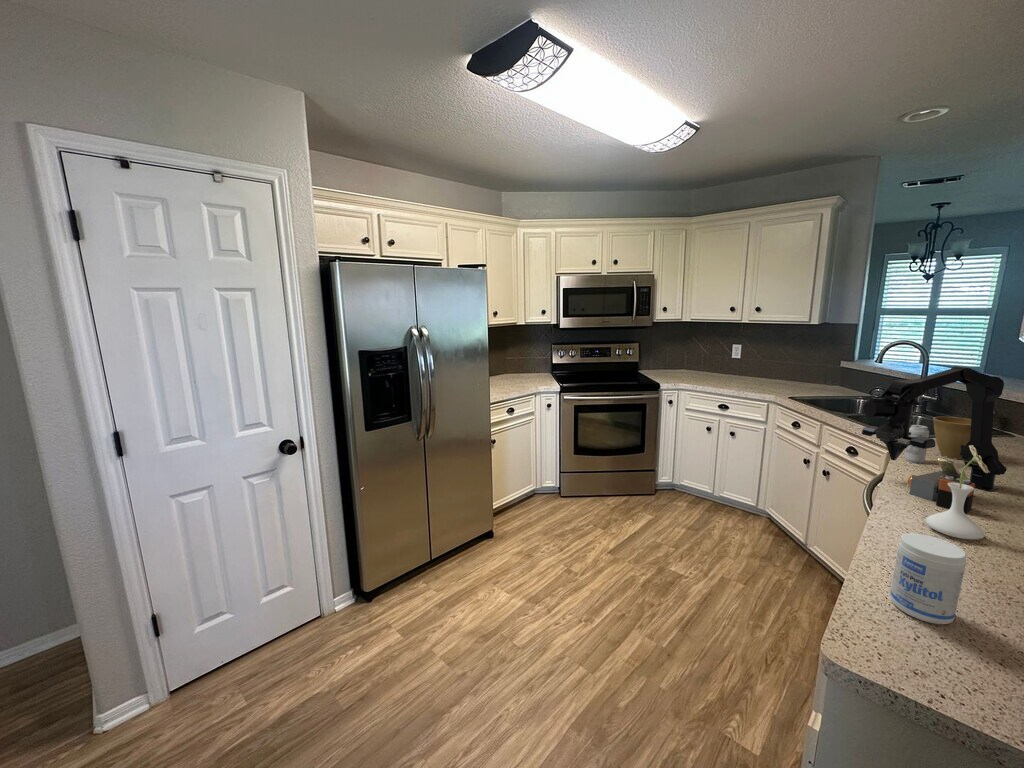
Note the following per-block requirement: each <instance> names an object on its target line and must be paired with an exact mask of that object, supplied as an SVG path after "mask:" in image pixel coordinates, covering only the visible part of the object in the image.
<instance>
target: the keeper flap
mask: <svg viewBox="0 0 1024 768" xmlns="http://www.w3.org/2000/svg"><path fill="white" fill-rule="evenodd" d="M936 460H937V462H938V464H939V466H940V467H941V471H943V472H947V473H950V474H954V475H958V476H961V472H960V470H959V469H958V466H957V465H956V462H955V461H953V460H947V459H943V458H940V457H938V459H936Z"/></svg>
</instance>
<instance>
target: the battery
mask: <svg viewBox="0 0 1024 768" xmlns="http://www.w3.org/2000/svg"><path fill="white" fill-rule="evenodd" d="M948 483H960V481H959V480H956V479H954V478H953V477H952V476H946V477H944V478H941V479H940V482H939V488H938V494H937V500H935V501H936V502H935V505H936V506H937V507H940V508H943V507H944V509H947V508H948V509H947V510H949V509H950V508H951V505H952V499H953V497H952V490H951V488H950V487H949V485H948ZM962 484H965V485H968V486H971V487H973V488H974V490H973V491H971V492H970V493H969V494H968V495H967V497H966V499H965V502H964V508H963V509H964V513H965V514H967V513H969V512H970V511H971V510H972V505H973V500H974V499H973V498H974V494H975V484H974V483H971V482H970V479H969V480H963V481H962Z"/></svg>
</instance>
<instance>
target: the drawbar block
mask: <svg viewBox="0 0 1024 768" xmlns="http://www.w3.org/2000/svg"><path fill="white" fill-rule="evenodd" d="M946 476H952V477H953V478H954V479H960V477H961V476H958V475H954V474H950V473H947V472H943V471H942V470H938V471H934V472H929V473H925V474H924V473H923V474H921V475H920V474H919V475H916V476H914V477H912V480H911V486H910V487H909V495H913V496H915V497H918V498H922V499H924V500H928V501H930V500H931V501H930V502H934V501H937V494H938V492H937V486H939V482H940V479H941V478H944V477H946ZM962 478H963V476H962Z"/></svg>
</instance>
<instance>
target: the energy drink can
mask: <svg viewBox="0 0 1024 768" xmlns="http://www.w3.org/2000/svg"><path fill="white" fill-rule="evenodd" d="M928 428H929V427H928V426H926V425H919V424H910V428H909V432H911V435H909V437H919V436H922V437H927V438H930V437H929V435H930V430H929V429H928ZM927 449H928V448H927ZM927 449H923V448H918V447H914V446H912V445H909V446H908V447H907V448H905V450H904V459H905V460H906V462H908V463H914V464H923V463H924V462H925V461H926V455H927Z"/></svg>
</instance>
